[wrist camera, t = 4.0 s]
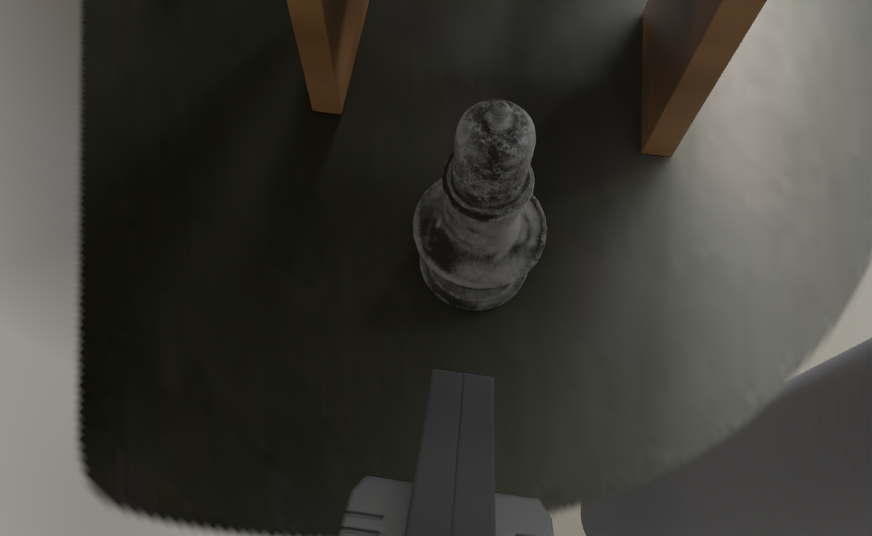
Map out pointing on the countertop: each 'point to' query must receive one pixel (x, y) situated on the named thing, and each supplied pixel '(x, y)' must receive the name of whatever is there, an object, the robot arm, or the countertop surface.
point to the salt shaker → (482, 211)
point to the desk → (661, 66)
